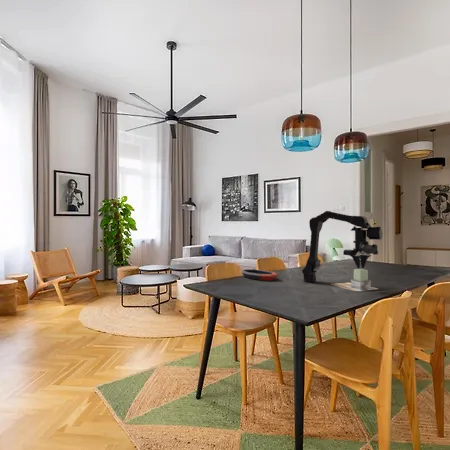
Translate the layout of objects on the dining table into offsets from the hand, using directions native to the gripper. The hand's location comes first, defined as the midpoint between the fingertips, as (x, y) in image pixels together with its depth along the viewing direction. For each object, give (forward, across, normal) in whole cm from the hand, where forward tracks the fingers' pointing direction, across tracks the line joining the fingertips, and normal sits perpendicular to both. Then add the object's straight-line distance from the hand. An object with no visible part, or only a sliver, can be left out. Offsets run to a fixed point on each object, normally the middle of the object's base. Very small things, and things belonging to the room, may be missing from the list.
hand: (360, 268), depth 171 cm
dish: (+12, -35, +53) cm, 65 cm away
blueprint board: (+12, 0, +6) cm, 13 cm away
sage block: (+7, 0, 0) cm, 7 cm away
